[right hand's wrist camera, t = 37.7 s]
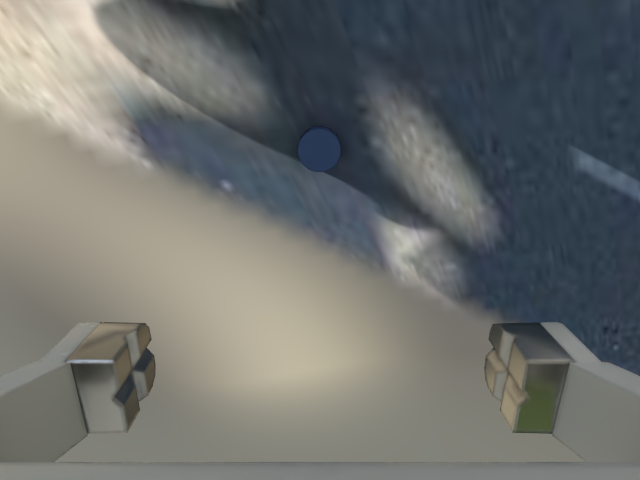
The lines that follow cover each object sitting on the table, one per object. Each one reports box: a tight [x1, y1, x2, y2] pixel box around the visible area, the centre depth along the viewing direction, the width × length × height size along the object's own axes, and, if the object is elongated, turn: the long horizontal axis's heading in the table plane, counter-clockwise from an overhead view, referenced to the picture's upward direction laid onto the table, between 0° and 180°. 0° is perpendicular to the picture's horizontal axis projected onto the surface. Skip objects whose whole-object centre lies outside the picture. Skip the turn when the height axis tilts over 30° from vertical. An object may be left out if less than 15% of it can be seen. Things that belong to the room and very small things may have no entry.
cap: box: [298, 126, 341, 172], centre depth 40 cm, size 4×4×2 cm
